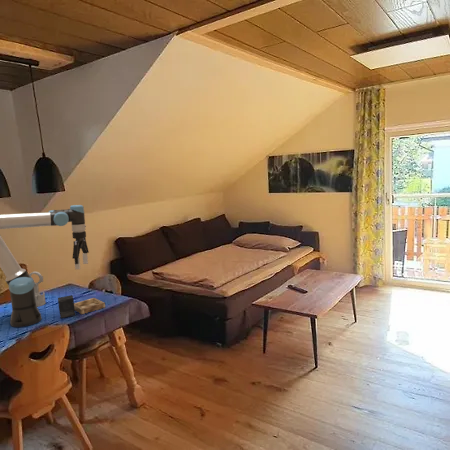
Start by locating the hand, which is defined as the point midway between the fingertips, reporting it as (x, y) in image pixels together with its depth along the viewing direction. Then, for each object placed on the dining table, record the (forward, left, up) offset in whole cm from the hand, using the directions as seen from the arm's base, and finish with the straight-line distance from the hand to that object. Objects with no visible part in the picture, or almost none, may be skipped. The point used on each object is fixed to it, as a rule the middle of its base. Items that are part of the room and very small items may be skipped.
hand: (81, 266), depth 240 cm
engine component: (-21, +22, -23) cm, 38 cm away
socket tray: (-3, -11, -23) cm, 25 cm away
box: (-16, -13, -23) cm, 31 cm away
